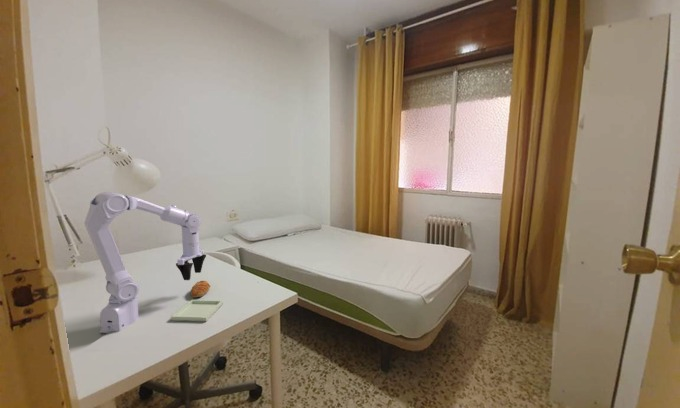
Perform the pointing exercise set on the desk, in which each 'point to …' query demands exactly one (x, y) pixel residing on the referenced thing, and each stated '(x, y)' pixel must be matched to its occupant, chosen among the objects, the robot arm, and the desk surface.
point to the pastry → (200, 289)
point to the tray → (197, 310)
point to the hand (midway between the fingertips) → (192, 276)
